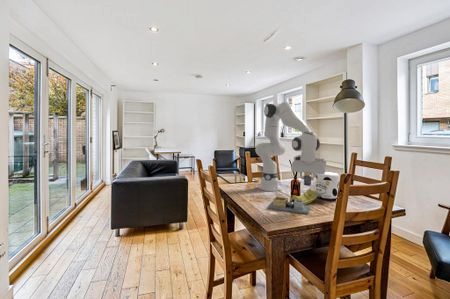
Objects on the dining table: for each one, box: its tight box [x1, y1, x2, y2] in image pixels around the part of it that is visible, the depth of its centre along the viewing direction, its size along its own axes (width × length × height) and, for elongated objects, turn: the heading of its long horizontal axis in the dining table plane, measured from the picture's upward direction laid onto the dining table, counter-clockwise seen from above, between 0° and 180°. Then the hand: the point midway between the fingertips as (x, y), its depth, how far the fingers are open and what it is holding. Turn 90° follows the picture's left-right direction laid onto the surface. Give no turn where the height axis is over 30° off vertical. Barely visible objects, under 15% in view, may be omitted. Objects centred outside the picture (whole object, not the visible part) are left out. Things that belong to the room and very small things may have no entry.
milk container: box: [313, 171, 340, 200], centre depth 178 cm, size 17×17×18 cm
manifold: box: [267, 196, 311, 215], centre depth 153 cm, size 12×24×6 cm, turn 65°
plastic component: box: [289, 188, 318, 206], centre depth 168 cm, size 20×7×10 cm
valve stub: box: [303, 172, 313, 187], centre depth 152 cm, size 4×4×8 cm
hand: (307, 179), depth 152 cm, fingers closed on valve stub, 4 cm apart
